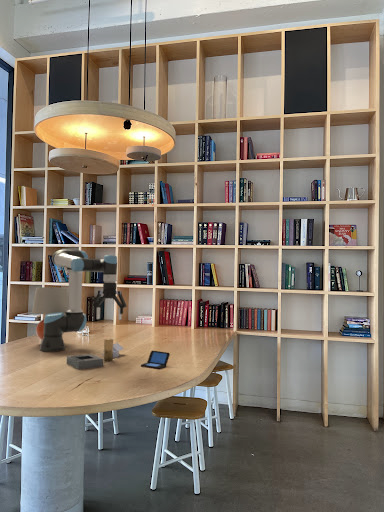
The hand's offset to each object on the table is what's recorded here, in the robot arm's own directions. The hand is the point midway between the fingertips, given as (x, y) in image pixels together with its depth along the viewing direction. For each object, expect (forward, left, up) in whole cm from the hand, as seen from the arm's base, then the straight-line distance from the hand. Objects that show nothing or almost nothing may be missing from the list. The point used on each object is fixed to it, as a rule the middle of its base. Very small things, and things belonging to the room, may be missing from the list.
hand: (109, 319), depth 239 cm
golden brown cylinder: (-1, +1, -24) cm, 24 cm away
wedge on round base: (-13, +10, -24) cm, 29 cm away
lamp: (-71, -8, -24) cm, 76 cm away
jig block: (+3, -15, -24) cm, 28 cm away
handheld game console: (+25, +16, -24) cm, 38 cm away
